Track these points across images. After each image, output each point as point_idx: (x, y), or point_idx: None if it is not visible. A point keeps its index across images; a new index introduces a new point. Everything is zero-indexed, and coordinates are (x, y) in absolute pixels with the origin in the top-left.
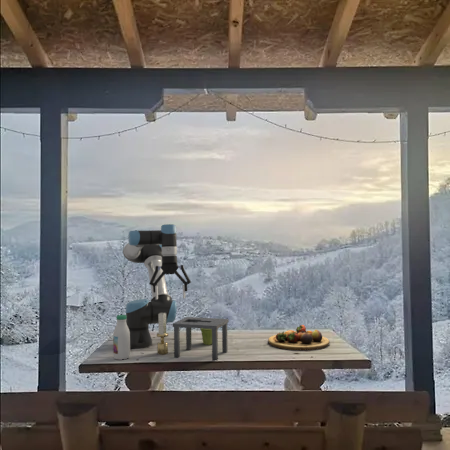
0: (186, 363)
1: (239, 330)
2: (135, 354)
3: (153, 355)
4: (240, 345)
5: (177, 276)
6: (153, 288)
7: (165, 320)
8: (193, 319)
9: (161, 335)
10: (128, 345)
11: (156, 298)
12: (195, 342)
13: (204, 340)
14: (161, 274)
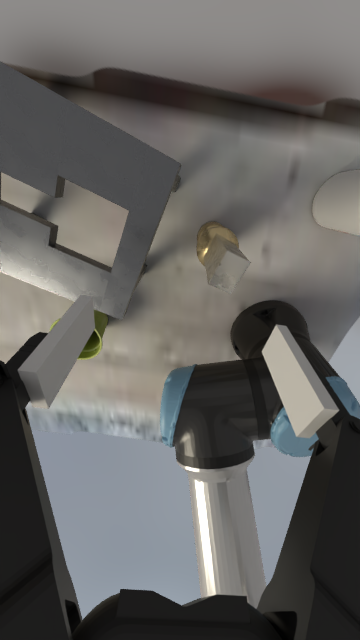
0: (139, 76)
1: None
2: (288, 239)
3: (239, 217)
4: (11, 287)
5: (43, 514)
6: (337, 399)
7: (210, 265)
8: (87, 263)
9: (223, 227)
10: (344, 184)
11: (282, 328)
12: (127, 332)
13: (100, 313)
14: (348, 608)
